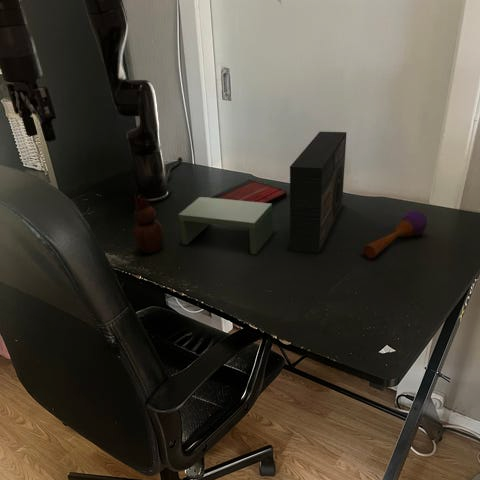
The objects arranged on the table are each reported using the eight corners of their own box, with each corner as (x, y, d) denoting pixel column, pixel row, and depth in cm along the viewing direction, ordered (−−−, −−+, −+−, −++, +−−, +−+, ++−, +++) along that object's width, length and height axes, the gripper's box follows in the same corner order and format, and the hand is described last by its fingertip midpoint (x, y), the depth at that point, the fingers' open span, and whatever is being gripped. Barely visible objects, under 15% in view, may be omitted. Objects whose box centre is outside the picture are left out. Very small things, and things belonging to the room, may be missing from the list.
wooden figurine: (142, 258, 117) (130, 198, 109) (135, 249, 121) (123, 191, 113) (168, 250, 119) (158, 192, 111) (160, 242, 124) (150, 185, 115)
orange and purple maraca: (357, 238, 110) (409, 205, 119) (360, 261, 112) (410, 228, 122) (378, 241, 105) (431, 207, 114) (381, 265, 108) (432, 231, 117)
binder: (202, 199, 140) (248, 178, 153) (202, 206, 142) (248, 185, 154) (244, 213, 131) (289, 189, 144) (244, 221, 133) (289, 197, 145)
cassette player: (319, 253, 113) (321, 168, 102) (290, 250, 116) (289, 166, 104) (342, 206, 135) (346, 132, 124) (317, 204, 138) (319, 131, 126)
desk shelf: (203, 225, 131) (200, 196, 126) (272, 233, 124) (272, 203, 119) (182, 244, 122) (178, 214, 117) (255, 254, 115) (254, 223, 110)
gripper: (51, 51, 92) (73, 138, 102) (19, 49, 101) (42, 129, 110) (13, 57, 88) (40, 147, 98) (-17, 54, 97) (10, 137, 106)
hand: (41, 138), depth 104 cm, fingers open, 8 cm apart
